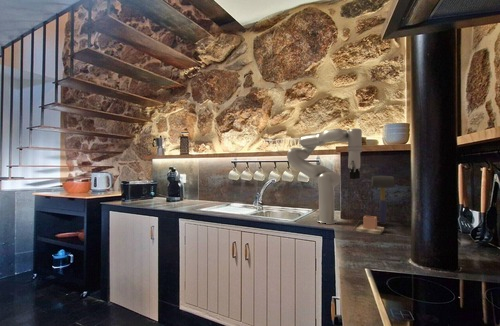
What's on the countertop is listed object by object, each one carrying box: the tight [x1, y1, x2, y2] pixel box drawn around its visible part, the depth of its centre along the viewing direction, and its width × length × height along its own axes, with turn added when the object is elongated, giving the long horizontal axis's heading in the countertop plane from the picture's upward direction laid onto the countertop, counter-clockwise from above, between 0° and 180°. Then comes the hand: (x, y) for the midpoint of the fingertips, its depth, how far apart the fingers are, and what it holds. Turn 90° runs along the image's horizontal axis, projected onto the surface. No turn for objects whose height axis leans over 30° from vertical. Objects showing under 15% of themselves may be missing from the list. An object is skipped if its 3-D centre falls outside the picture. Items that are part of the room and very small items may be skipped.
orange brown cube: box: [362, 215, 378, 230], centre depth 144 cm, size 6×6×6 cm
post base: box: [355, 224, 385, 235], centre depth 144 cm, size 12×12×6 cm
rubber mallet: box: [371, 175, 396, 225], centre depth 161 cm, size 12×8×30 cm, turn 70°
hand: (354, 178), depth 153 cm, fingers open, 9 cm apart
